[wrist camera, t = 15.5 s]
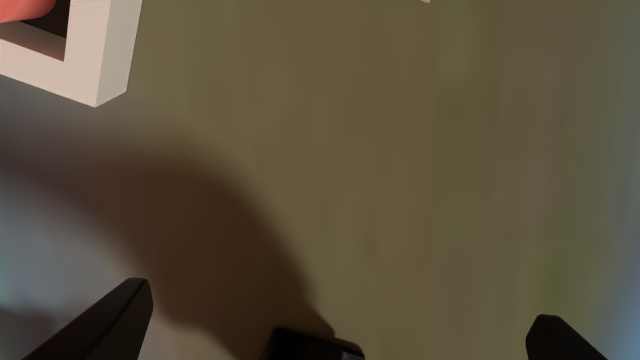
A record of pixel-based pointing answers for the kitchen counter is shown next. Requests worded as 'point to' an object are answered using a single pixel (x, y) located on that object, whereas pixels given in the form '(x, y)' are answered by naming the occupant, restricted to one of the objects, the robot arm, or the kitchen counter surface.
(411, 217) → the kitchen counter surface
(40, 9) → the button
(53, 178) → the kitchen counter surface
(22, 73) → the square ring frame
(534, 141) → the kitchen counter surface
